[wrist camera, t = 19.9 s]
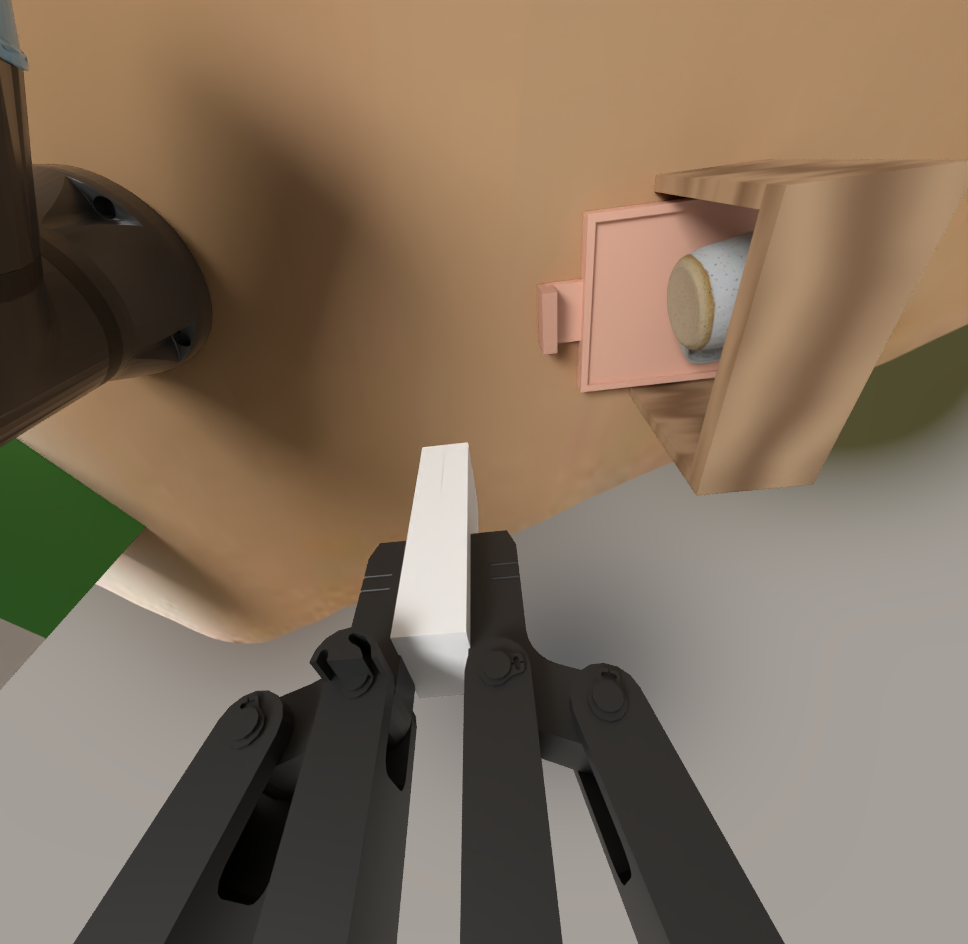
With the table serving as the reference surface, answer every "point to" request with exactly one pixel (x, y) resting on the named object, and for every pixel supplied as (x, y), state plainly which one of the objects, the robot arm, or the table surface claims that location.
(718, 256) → the ceramic mug
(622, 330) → the tray
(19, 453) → the hardback book
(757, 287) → the shelf
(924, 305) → the table surface
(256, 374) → the table surface
